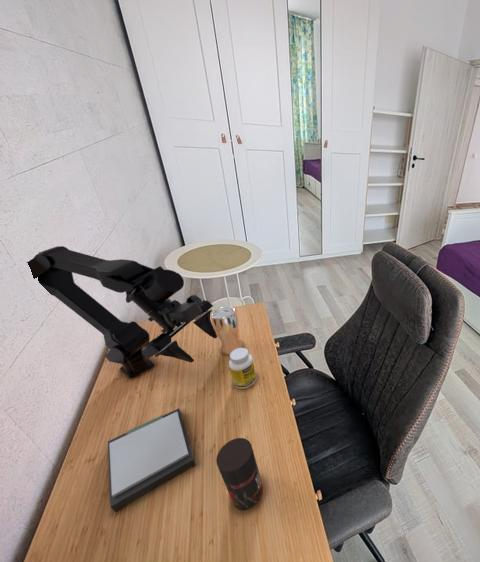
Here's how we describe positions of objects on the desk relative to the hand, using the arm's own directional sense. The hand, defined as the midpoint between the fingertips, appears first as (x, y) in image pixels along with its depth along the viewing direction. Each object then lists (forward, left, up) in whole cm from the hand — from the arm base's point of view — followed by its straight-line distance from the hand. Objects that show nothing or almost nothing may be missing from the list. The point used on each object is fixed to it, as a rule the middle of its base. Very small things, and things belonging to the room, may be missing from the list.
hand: (205, 349), depth 75 cm
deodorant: (+31, -13, -14) cm, 36 cm away
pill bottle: (+6, +5, -14) cm, 16 cm away
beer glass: (-9, +11, -14) cm, 20 cm away
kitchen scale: (+7, -20, -13) cm, 25 cm away
